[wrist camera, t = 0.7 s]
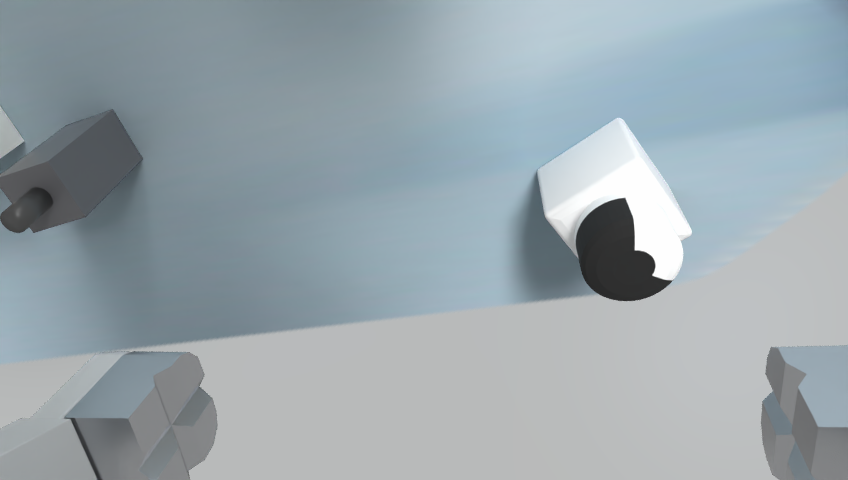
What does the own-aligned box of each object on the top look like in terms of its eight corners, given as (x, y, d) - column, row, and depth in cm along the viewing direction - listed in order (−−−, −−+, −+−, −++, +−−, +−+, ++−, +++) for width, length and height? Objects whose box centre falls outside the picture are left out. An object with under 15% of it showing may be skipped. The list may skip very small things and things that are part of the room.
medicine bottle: (586, 234, 53) (612, 333, 43) (534, 169, 50) (549, 257, 40) (669, 186, 50) (718, 278, 40) (619, 114, 48) (658, 193, 38)
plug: (66, 125, 51) (-37, 201, 41) (112, 109, 50) (20, 183, 40) (97, 173, 53) (7, 257, 43) (142, 158, 52) (62, 240, 42)
